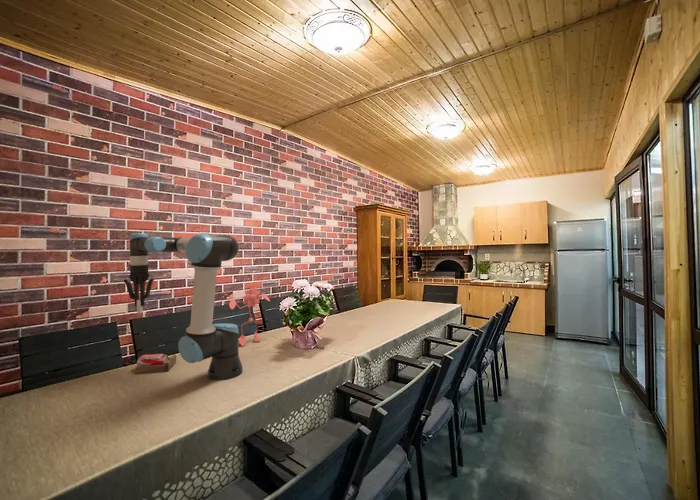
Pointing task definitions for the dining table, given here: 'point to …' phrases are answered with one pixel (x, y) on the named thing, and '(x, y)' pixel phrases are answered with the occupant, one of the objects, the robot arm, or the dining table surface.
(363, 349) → the dining table surface
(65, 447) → the dining table surface
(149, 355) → the soda can
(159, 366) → the u rest
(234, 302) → the pink flower figure
